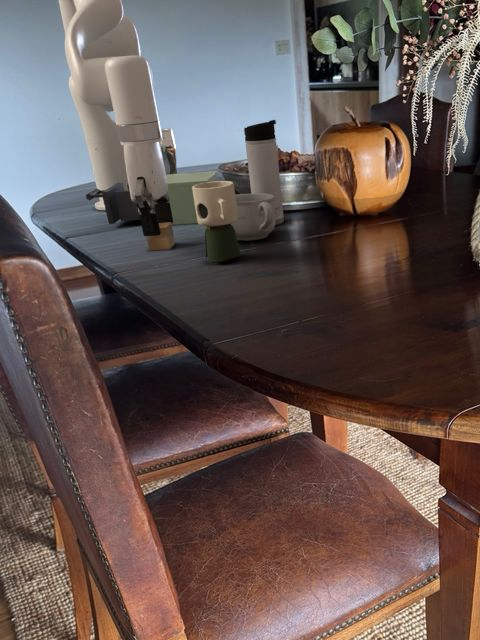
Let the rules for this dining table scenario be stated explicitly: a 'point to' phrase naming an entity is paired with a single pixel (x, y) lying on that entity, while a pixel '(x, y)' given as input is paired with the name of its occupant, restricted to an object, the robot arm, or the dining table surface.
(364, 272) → the dining table surface
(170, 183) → the cabinet
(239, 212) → the teacup
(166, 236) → the block
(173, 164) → the beer glass
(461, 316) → the dining table surface
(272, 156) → the travel mug
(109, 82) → the robot arm
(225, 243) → the character mug
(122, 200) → the drawer
